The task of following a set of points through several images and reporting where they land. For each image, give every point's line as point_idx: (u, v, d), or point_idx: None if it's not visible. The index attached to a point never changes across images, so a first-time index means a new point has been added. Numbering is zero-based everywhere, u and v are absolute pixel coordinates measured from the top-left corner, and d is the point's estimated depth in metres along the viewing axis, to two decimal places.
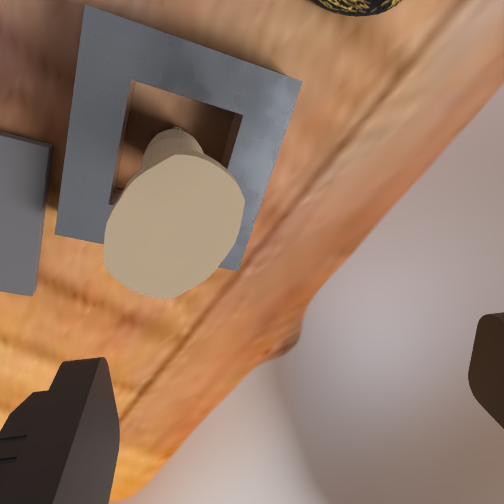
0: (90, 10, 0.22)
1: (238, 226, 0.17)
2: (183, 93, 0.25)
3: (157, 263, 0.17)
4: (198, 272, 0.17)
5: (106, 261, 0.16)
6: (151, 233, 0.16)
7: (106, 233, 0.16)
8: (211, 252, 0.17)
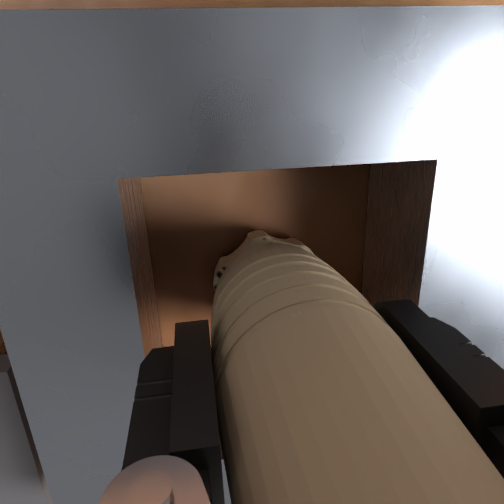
0: None
1: None
2: (266, 162, 0.09)
3: None
4: None
5: None
6: None
7: None
8: None
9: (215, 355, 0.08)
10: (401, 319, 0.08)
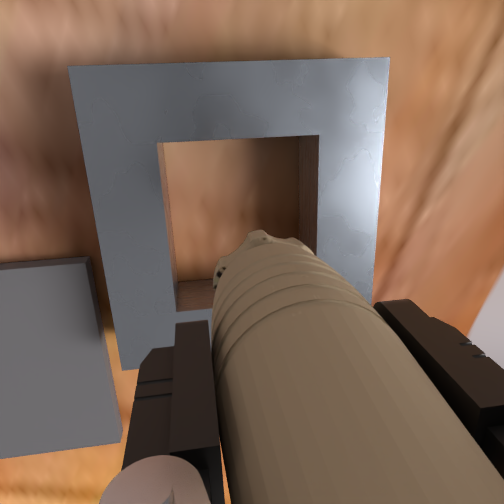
0: (77, 71, 0.16)
1: None
2: (230, 135, 0.17)
3: None
4: None
5: None
6: None
7: None
8: None
9: (215, 355, 0.08)
10: (401, 319, 0.08)
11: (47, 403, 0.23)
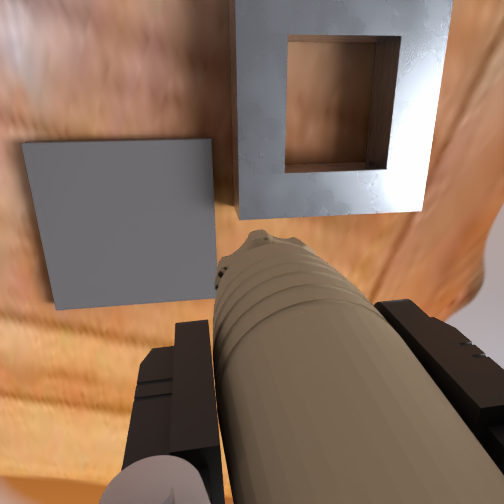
0: None
1: None
2: (339, 32, 0.24)
3: None
4: None
5: None
6: None
7: None
8: None
9: (217, 355, 0.08)
10: (401, 319, 0.08)
11: (168, 258, 0.30)
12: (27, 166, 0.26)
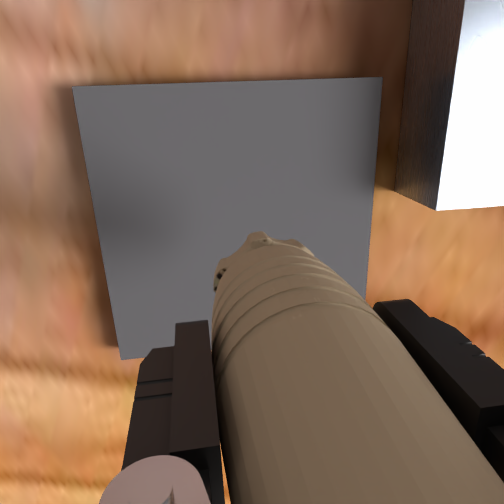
0: None
1: None
2: None
3: None
4: None
5: None
6: None
7: None
8: None
9: (215, 357, 0.08)
10: (401, 319, 0.08)
11: None
12: (81, 127, 0.15)
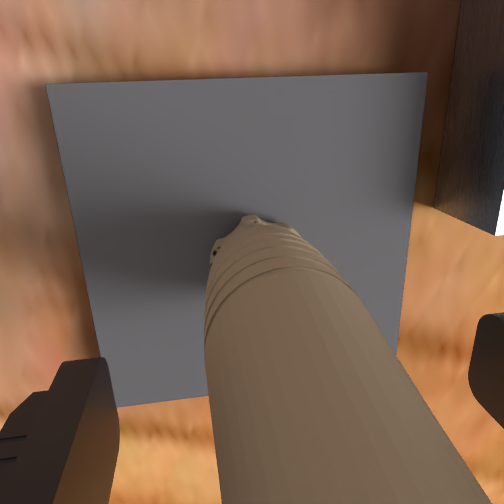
0: None
1: None
2: None
3: None
4: None
5: None
6: None
7: None
8: None
9: (206, 316, 0.10)
10: None
11: None
12: (59, 134, 0.12)
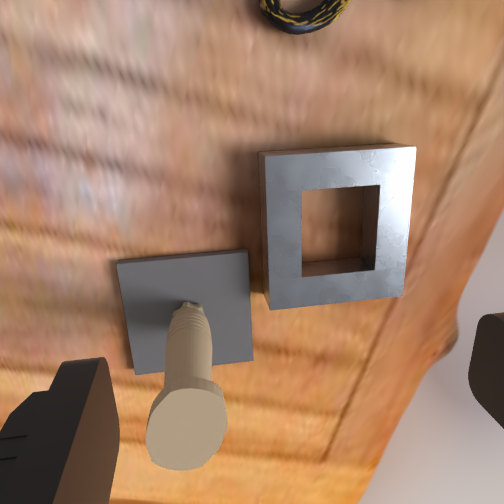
0: (269, 158, 0.33)
1: (225, 414, 0.25)
2: (336, 186, 0.34)
3: (183, 450, 0.26)
4: (211, 447, 0.26)
5: (153, 459, 0.26)
6: (173, 435, 0.25)
7: (147, 444, 0.25)
8: (214, 434, 0.26)
9: (166, 340, 0.34)
10: None
11: (216, 334, 0.40)
12: (119, 278, 0.37)
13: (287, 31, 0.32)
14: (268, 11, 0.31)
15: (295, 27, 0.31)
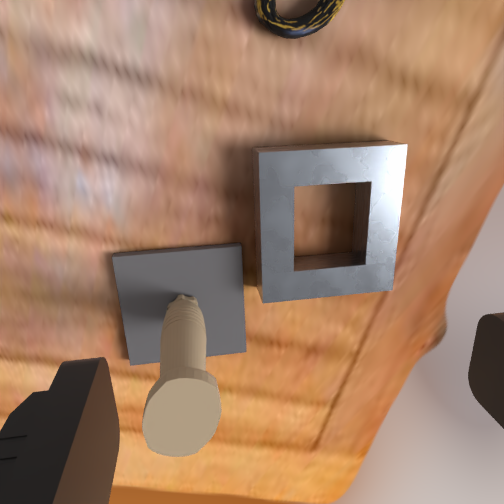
0: (262, 155, 0.33)
1: (219, 403, 0.26)
2: (328, 182, 0.35)
3: (179, 437, 0.27)
4: (206, 434, 0.27)
5: (149, 446, 0.27)
6: (169, 423, 0.26)
7: (144, 432, 0.26)
8: (209, 422, 0.27)
9: None
10: None
11: (210, 326, 0.41)
12: (115, 271, 0.38)
13: (285, 36, 0.32)
14: (265, 19, 0.32)
15: (293, 32, 0.32)
